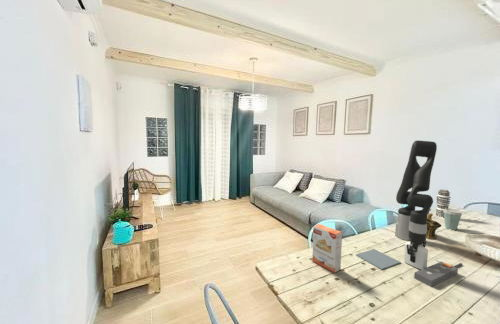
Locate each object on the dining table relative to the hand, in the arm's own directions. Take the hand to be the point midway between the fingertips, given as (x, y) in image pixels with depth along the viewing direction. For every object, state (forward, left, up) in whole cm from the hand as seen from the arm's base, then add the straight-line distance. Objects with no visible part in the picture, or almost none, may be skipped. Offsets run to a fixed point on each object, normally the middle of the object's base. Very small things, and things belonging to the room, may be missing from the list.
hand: (415, 260), depth 116 cm
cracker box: (-20, -44, -3) cm, 48 cm away
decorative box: (-23, +50, -3) cm, 55 cm away
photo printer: (0, 0, -3) cm, 3 cm away
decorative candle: (-36, +107, -3) cm, 113 cm away
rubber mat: (-13, -12, -3) cm, 18 cm away
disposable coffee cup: (-19, +82, -3) cm, 84 cm away
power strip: (+10, +6, -3) cm, 12 cm away
